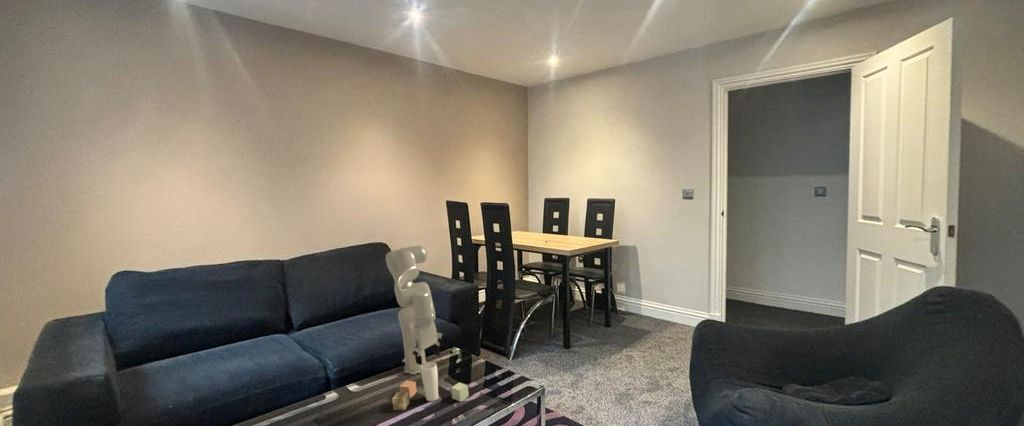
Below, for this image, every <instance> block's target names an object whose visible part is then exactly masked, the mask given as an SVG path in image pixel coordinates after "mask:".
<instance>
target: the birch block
mask: <svg viewBox="0 0 1024 426" xmlns="http://www.w3.org/2000/svg"><path fill="white" fill-rule="evenodd" d="M391 401H392V406H393V407H392V409H393V411H405V410H407V407H408V406H409V404H410V398H409V396H408V392H400V391H399V392H398V391H397V392H396V393H395V394H394V396H393V397H392V398H391Z"/></svg>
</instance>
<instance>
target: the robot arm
mask: <svg viewBox="0 0 1024 426" xmlns="http://www.w3.org/2000/svg"><path fill="white" fill-rule="evenodd" d="M426 261H427V251H426V249H425V247H424V246H422V245H415V246H407V247H402V248H399V249H394V250H391V251H389V252H387V253H386V255H385V262H386V266H387V269H388V270H389V272H390V275H391V276H392V278H393V281H394V288H393V289H394V295H395V297H396V302H397V304H398V306H400V307H401V309H400V310H399V311H398V314H397V316H398V321H399V324H400V328H401V334H402V341H403V349H404V350H403V351H404V358H403V359H402V360H401V361H402V363H404V367H403V368H404V369H405V372H407V373H410V374H409V375H411V374H412V375H418V374H417V373H419V374H421V366H422V365H423V364H425V363H428V361H426V352H425V350H426V349H428V348H429V347H431V346H432V352H433V355H435V356H440V354H441V353H440V345H441V342H442V337H443V333H441V332H438V331H437V328H436V326H437V325H436V324H435V319H436V311H435V305H434V301H433V297H432V291H431V289H430V286H429V284H428V283H427V282H426V281H422V282H421V281H420V282H415V283H414V282H413V281H414V280H415V279H417V277H418V276H419V274H420V268H419V266H418V264H423V263H425V262H426Z"/></svg>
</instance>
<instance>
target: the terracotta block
mask: <svg viewBox="0 0 1024 426" xmlns="http://www.w3.org/2000/svg"><path fill="white" fill-rule="evenodd" d="M417 390H418V389H417V382H416V381H411V380H405V381H404V382H402V383H401V384H400V385H399V392H408V396H409V399H412V397H413V396H415V395H416V394H417V392H418V391H417Z"/></svg>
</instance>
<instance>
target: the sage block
mask: <svg viewBox="0 0 1024 426" xmlns="http://www.w3.org/2000/svg"><path fill="white" fill-rule="evenodd" d="M450 391H451V392H450V393H451V398H452V400H456V401H457V402H462V401H464V400H465V399H467V398H468V397H469V396H470V395H469V385H467V384H466V383H462V382H458V383H456V384H454V385H453V386H452V387H450Z"/></svg>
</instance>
